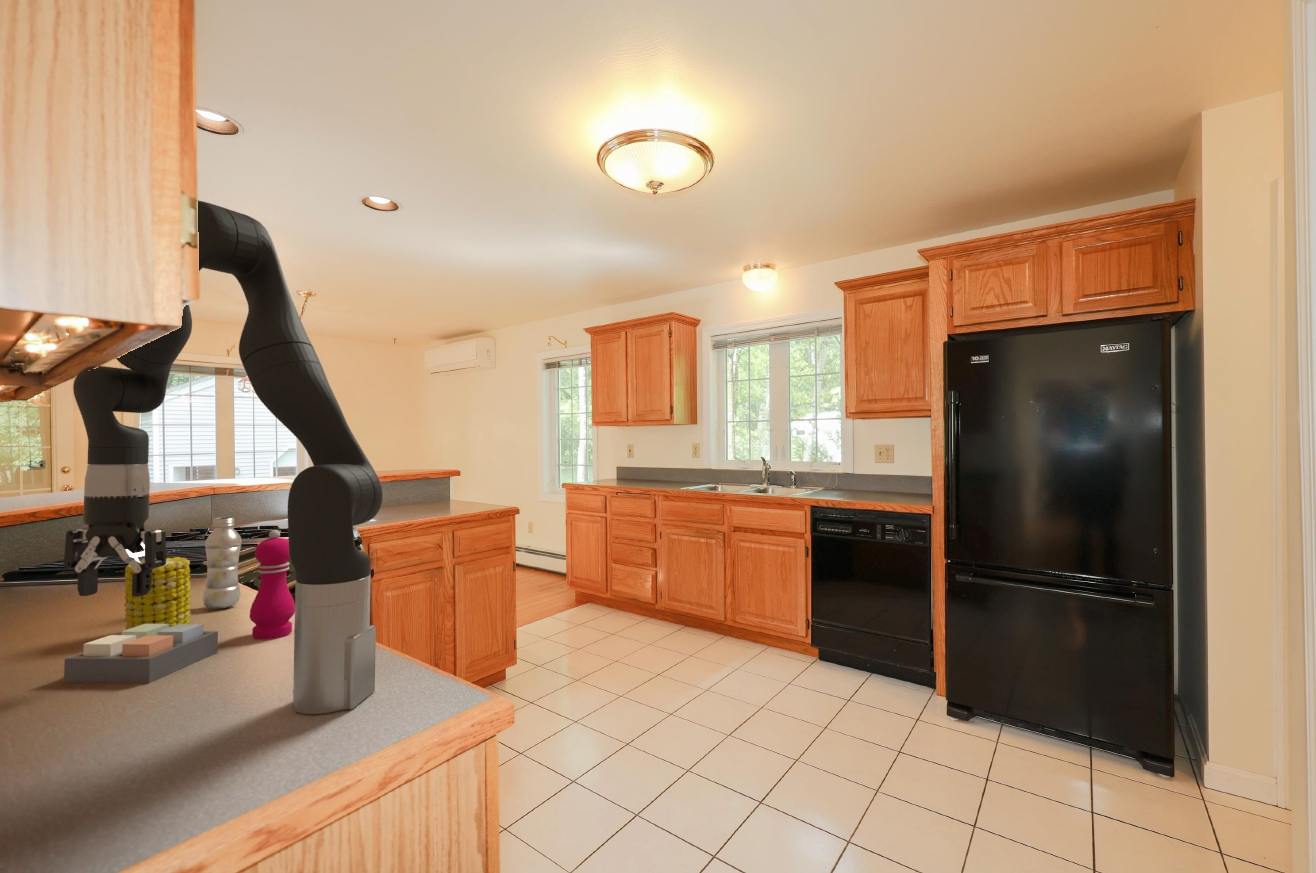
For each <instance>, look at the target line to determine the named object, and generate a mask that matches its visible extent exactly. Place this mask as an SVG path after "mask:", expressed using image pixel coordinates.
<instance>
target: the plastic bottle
mask: <svg viewBox="0 0 1316 873" xmlns="http://www.w3.org/2000/svg"><path fill="white" fill-rule="evenodd" d="M212 521H213V523H212V527H213V528H214V529H213V531H211V533H210V534H209V536H208V537H206V540H205V542H204V547H205V554H206V563H207V564H206V566H207V568H206V569H207V572H206V573H207V575H206V581H205V588H204V591H203V595H202V602H203V603H202V604H203V605H204V607H205V608H206V609H212V610H213V609H217V610H221V609H225V608H228V607H229V608H230V607H232V606H235V605H236V604H237V603H238V602H239V601H240V598H241V597H240V596H241V590H240V589H241V588H240V585H239V574H238V573H239V572H238V571H239V569H238V568H239V565H238V564H239V560H240V559H239V558H240V553H241V549H242V542H243V539H242V536H241V535H240V534H239V532H238V531H236V529H234V527H235V526H236V523H235V517H216V518H213V520H212Z"/></svg>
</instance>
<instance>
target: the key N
mask: <svg viewBox="0 0 1316 873" xmlns="http://www.w3.org/2000/svg"><path fill="white" fill-rule="evenodd" d="M133 640H136V635H121V634H110V635H107V636H104V637H100V638H97V639H95V640H92V641H89V642H86V643H83V656H113V655H115V654H118V653H121V652H122V644H124V643H127V642H130V641H133Z"/></svg>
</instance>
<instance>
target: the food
mask: <svg viewBox="0 0 1316 873" xmlns="http://www.w3.org/2000/svg"><path fill="white" fill-rule="evenodd" d="M155 560H156V558H155ZM139 561H140V560H139ZM140 563H141V561H140ZM141 564H142V563H141ZM190 564H191V561H190V560H189V559H187V558H186V557H180V556H175V557H172V558H171V557H166V564H165V565H164V566H160V567H157V568H155V569H153V570H152V578H151V589H150V591H149V593H148V594H147V595H143V596H140V597H133V596H132V574H133V573H135V572H134V570H133V569H132V568H131V566H130V565H129V564H128V565H126V567H125V569H124V570H125V572H124V578H125V582H124V584H125V589H124V592H125V594H124V595H125V596H124V600H125V602H124V605H123V606H124V607H125V610H124V611H125V622H126V625H125V626H124V627H125V630H127V629H131V628H134V627H137V626H140V625H143V624H169V627H172V626H175V625H178V624H190V622H191V616H192V614H191V612H192V611H191V610H190V609H191V605H190V603H191V600H192V599H191V598H190V597H191V596H192V593H191V589H192V587H191V584H192V583H191V581H190V580H191V579H190V578H191V575H190V574H191V570H190V569H191V568H190Z"/></svg>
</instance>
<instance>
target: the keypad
mask: <svg viewBox="0 0 1316 873" xmlns="http://www.w3.org/2000/svg"><path fill="white" fill-rule="evenodd" d="M218 637H219V631H217V630H216V631H215V630H214V631H212V630H208V631H205V630H203V635H202V636H199V637H197V638H194V639H192V640H189V641H187V642H184V643H173V647H172V648H169V649H167V650H164V651H162V652H159V653H157V654H154V655H152V656H122V652H121V653H118V654H115V655H113V656H83V652H79V653H76V654H74V655H70V656H67V657H65V658H64V663H63V664H64V665H63V666H64V668H63V669H64V670H63V683H74V684H75V683H77V684H78V683H82V684H83V683H85V684H87V683H89V684H90V683H91V684H94V683H97V684H98V683H102V684H106V683H107V684H108V683H109V684H112V683H113V684H150V683H152V682H155V681H157V680H159V679H161V678H164V677H166V676H168V675H170V674H172V673H174V672H176V671H179V670H181V669H184V668H185V667H188V666H191V665H192V664H195V663H197V662H199V661H201V660H203V659H206V658H208V657H210V656H212V655H214V654H216V653H218V650H219V649H218V647H219V646H218V644H219V642H218V640H219V638H218Z"/></svg>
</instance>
